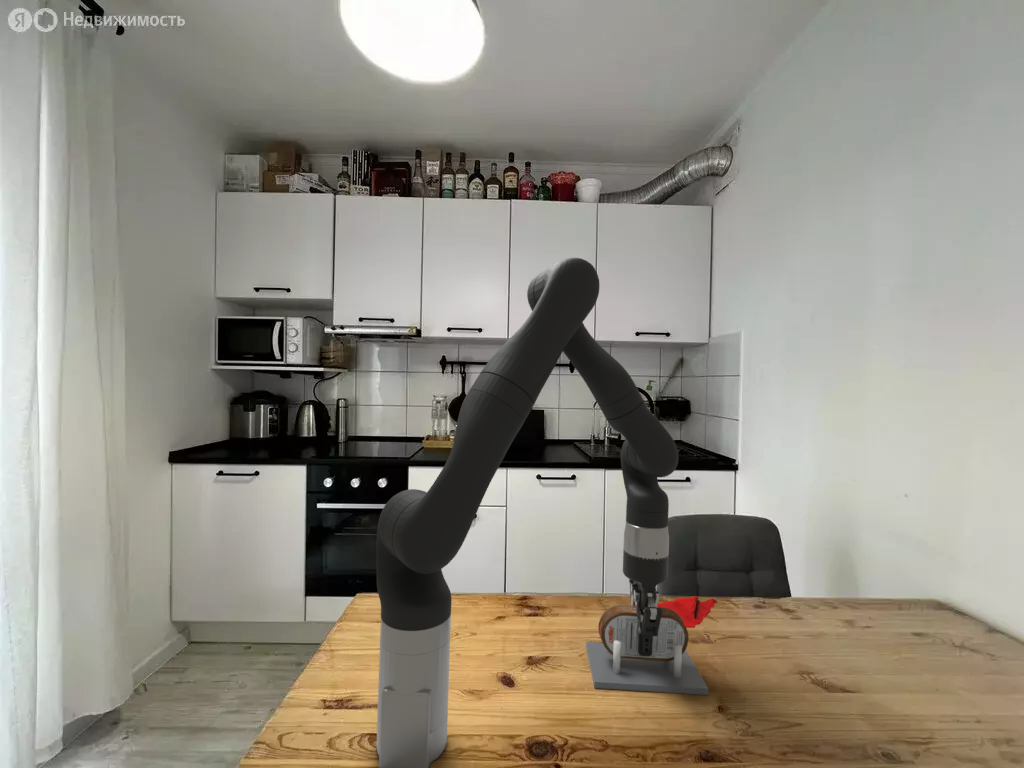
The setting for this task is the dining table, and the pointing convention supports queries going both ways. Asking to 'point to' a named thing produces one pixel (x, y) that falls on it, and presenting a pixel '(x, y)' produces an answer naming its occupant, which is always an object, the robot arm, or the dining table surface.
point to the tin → (624, 628)
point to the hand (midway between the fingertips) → (642, 648)
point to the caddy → (644, 672)
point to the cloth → (690, 609)
